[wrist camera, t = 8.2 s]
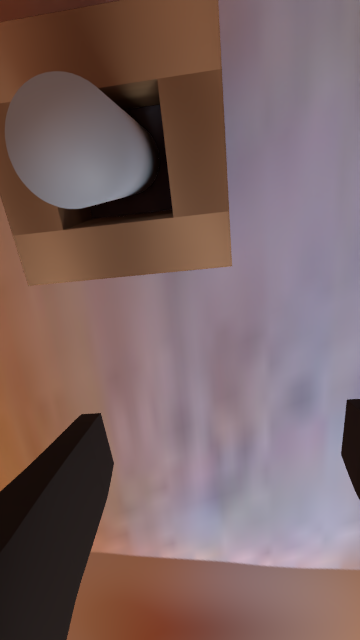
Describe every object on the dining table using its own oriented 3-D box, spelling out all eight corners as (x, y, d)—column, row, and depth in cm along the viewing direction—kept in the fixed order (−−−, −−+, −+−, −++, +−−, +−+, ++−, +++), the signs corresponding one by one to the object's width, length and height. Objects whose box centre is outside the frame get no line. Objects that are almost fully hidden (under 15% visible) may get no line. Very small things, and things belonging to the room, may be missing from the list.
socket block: (212, 34, 14) (217, -17, 10) (225, 247, 17) (231, 266, 14) (11, 67, 15) (-51, 31, 11) (63, 264, 18) (28, 285, 15)
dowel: (158, 120, 15) (119, 68, 8) (161, 194, 16) (130, 208, 9) (90, 123, 15) (-9, 74, 8) (98, 195, 17) (19, 209, 9)
